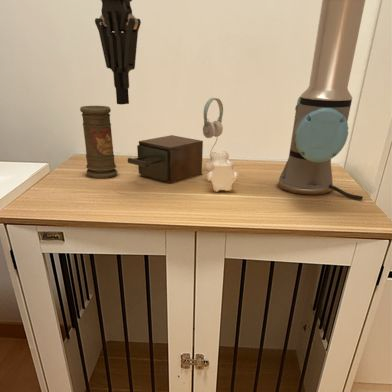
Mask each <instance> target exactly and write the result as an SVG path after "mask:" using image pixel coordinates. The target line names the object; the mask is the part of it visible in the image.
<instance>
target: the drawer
mask: <svg viewBox="0 0 392 392" xmlns="http://www.w3.org/2000/svg"><path fill="white" fill-rule="evenodd" d="M136 147H137V148H136V151H137V157H134V158H133V157H132V158H131V157H128V158H127V163H128V164H130V165H134V166H137V168H138V174H139V175H140V174H142V175H146V176H150V177H154V178H158V179H162V180H166V181H167V180H169V150H165V149H160V148H155V147H151V146H146V145H145V146H143V145H139V144H138V145H137V146H136Z"/></svg>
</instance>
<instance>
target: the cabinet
mask: <svg viewBox="0 0 392 392" xmlns="http://www.w3.org/2000/svg"><path fill="white" fill-rule="evenodd" d="M138 145H143V146H145V145H146V146H151V147H155V148H160V149H165V150H169V180H167V181H166V180H162V179H158V178H154V177H150V176H146V175H142V174H139V175H140V176H142V177H145V178H149V179H152V180H156V181H160V182H163V183H167V184H174V183H178V182H181V181H184V180H188V179H191V178H194V177H195V178H196V177H198V176H202V175H203V153H204V148H203V147H204V140H200V139H196V138H195V139H194V138H189V137H183V136H179V135H173V134H171V135H165V136H160V137H154V138H149V139H143V140H139V141H138Z"/></svg>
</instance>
